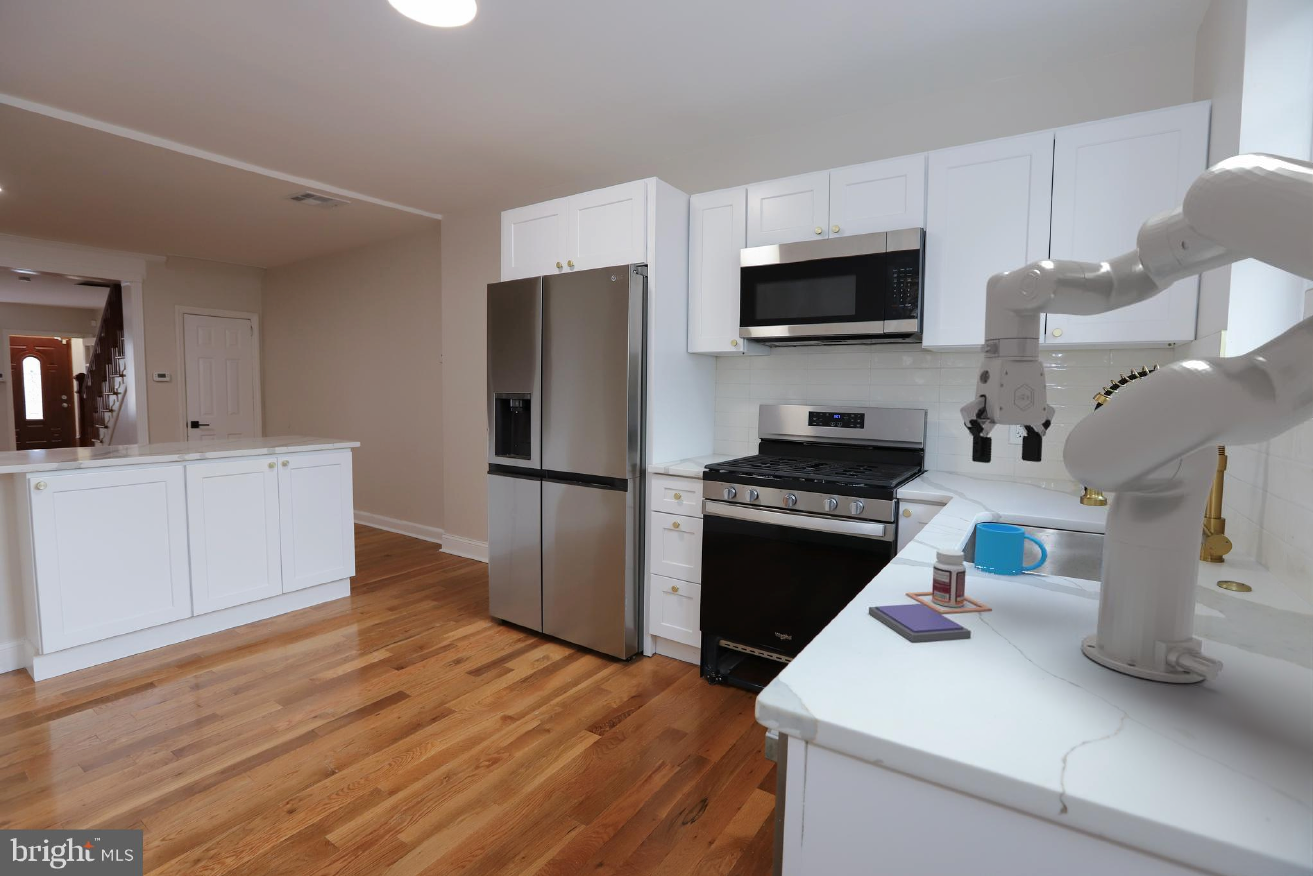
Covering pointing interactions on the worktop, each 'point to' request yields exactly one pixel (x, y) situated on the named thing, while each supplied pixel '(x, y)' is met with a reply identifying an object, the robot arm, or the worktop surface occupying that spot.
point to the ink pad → (919, 623)
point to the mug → (1003, 549)
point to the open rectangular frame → (982, 608)
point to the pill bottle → (949, 578)
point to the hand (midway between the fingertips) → (1006, 461)
